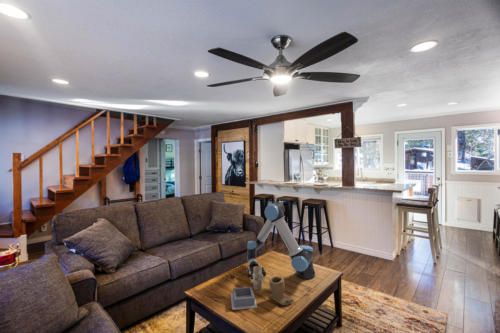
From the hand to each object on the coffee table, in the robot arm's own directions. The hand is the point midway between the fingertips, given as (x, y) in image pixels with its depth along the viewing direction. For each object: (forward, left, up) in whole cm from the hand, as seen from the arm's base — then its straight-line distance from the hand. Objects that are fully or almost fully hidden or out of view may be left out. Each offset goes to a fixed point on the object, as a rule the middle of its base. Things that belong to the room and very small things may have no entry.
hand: (258, 280), depth 169 cm
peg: (0, -5, -8) cm, 10 cm away
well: (+12, +9, -8) cm, 17 cm away
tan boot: (-12, +12, -9) cm, 19 cm away
